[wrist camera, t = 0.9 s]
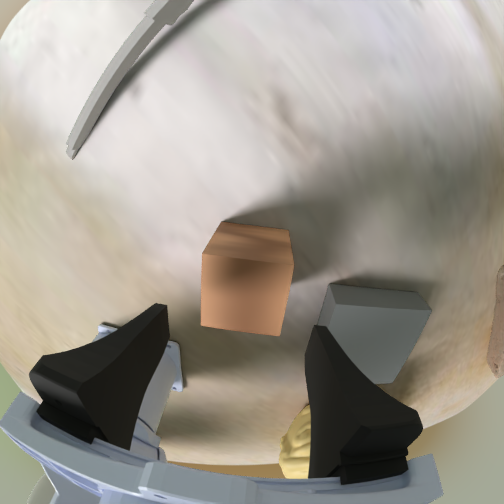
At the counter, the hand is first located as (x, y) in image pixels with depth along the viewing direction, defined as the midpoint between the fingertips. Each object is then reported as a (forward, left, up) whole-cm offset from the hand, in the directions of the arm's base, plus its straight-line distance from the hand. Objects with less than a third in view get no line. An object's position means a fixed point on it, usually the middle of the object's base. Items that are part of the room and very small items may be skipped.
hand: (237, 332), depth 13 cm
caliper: (-10, +15, -10) cm, 20 cm away
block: (0, 0, -9) cm, 9 cm away
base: (+11, -6, -9) cm, 15 cm away
